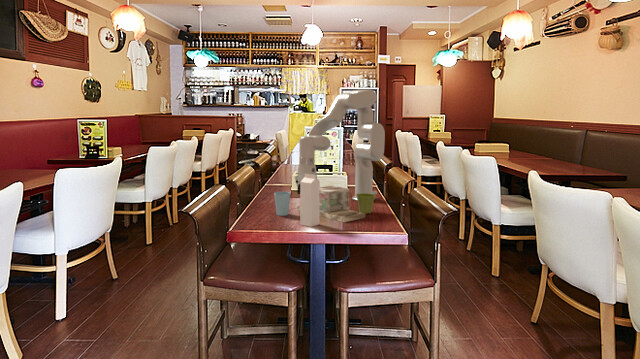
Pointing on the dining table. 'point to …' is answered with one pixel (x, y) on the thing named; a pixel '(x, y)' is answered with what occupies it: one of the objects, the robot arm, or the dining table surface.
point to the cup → (282, 203)
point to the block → (325, 202)
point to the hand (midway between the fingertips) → (306, 195)
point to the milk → (309, 200)
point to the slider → (331, 207)
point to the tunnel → (341, 198)
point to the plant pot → (365, 202)
